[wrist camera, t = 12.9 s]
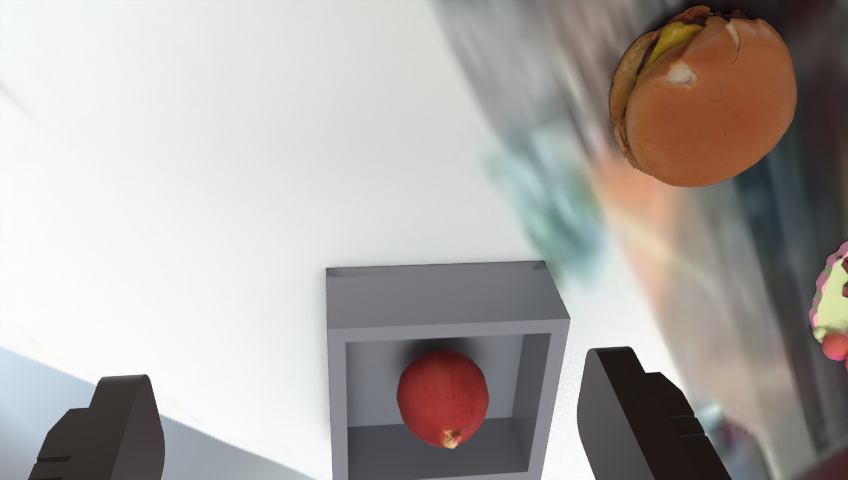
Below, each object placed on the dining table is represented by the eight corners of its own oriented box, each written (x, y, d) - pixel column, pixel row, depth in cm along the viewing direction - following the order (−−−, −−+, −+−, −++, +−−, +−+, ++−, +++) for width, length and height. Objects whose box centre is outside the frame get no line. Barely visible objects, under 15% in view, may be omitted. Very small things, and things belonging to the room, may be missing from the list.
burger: (706, 183, 46) (743, 222, 42) (576, 139, 44) (602, 175, 40) (803, 33, 42) (854, 60, 38) (664, -27, 39) (703, -5, 35)
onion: (483, 378, 51) (507, 469, 45) (402, 396, 51) (414, 491, 45) (469, 315, 48) (494, 403, 42) (383, 334, 48) (394, 426, 42)
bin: (544, 260, 48) (570, 318, 43) (520, 416, 55) (540, 480, 50) (326, 268, 46) (327, 329, 41) (332, 427, 54) (333, 495, 49)
